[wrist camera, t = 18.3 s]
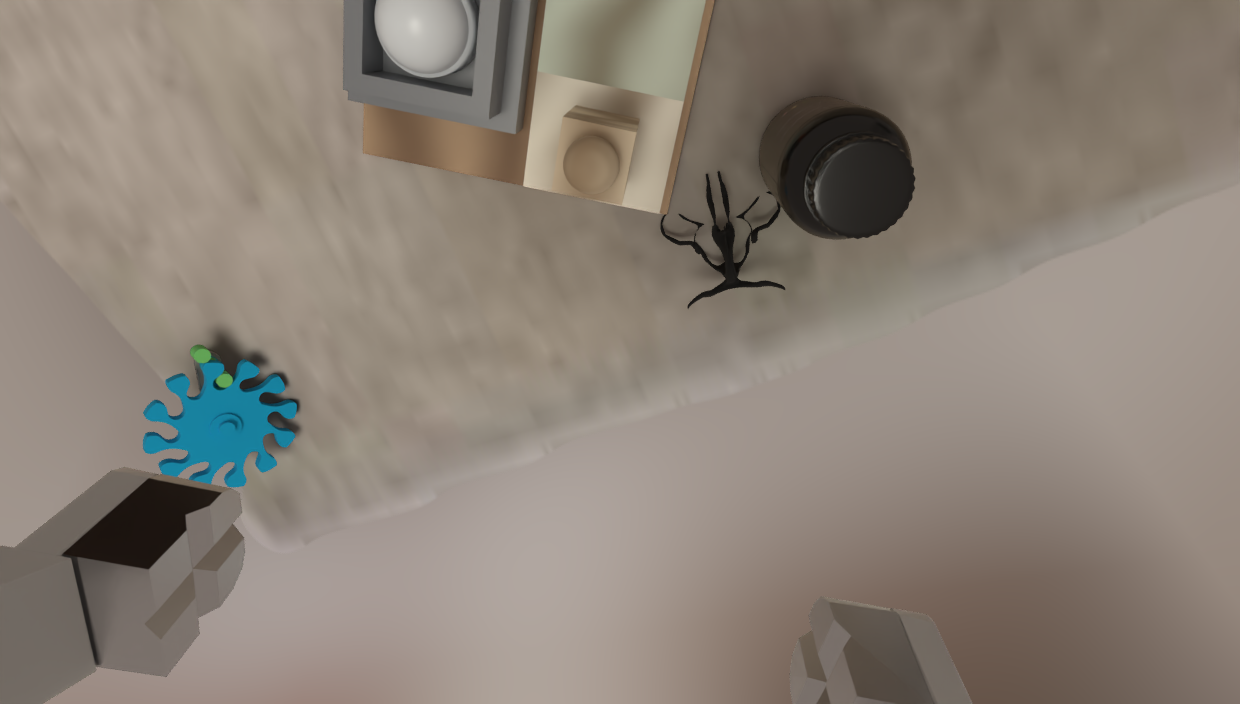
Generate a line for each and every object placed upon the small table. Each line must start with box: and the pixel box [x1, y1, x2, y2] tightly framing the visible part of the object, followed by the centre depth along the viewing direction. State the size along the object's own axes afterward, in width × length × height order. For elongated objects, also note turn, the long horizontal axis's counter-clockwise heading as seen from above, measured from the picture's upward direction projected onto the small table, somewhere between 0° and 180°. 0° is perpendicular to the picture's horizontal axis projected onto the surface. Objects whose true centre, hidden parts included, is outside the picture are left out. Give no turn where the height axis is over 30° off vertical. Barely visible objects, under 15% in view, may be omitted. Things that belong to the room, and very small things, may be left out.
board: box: [363, 0, 715, 215], centre depth 39 cm, size 20×21×1 cm
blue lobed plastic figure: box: [143, 345, 297, 487], centre depth 51 cm, size 11×6×10 cm
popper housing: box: [343, 0, 538, 134], centre depth 38 cm, size 10×10×6 cm
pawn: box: [552, 105, 640, 205], centre depth 38 cm, size 4×4×8 cm
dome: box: [374, 0, 479, 78], centre depth 35 cm, size 5×5×5 cm
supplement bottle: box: [759, 96, 915, 240], centre depth 37 cm, size 7×7×12 cm
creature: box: [661, 171, 785, 309], centre depth 43 cm, size 8×5×8 cm
